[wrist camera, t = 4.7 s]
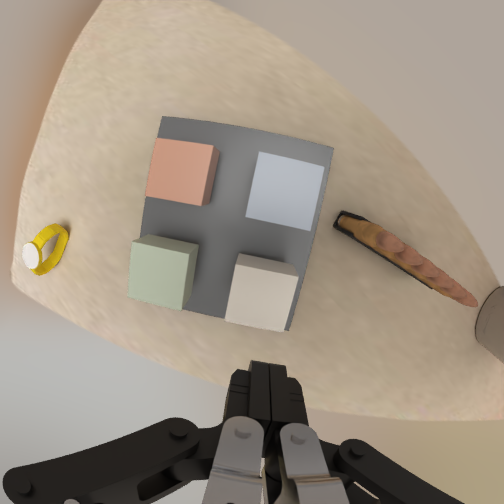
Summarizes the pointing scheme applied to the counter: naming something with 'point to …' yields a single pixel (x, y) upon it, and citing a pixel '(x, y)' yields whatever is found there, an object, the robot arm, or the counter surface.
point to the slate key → (284, 191)
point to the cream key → (261, 293)
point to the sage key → (162, 271)
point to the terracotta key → (182, 171)
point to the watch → (33, 248)
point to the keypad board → (233, 210)
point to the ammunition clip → (402, 256)
